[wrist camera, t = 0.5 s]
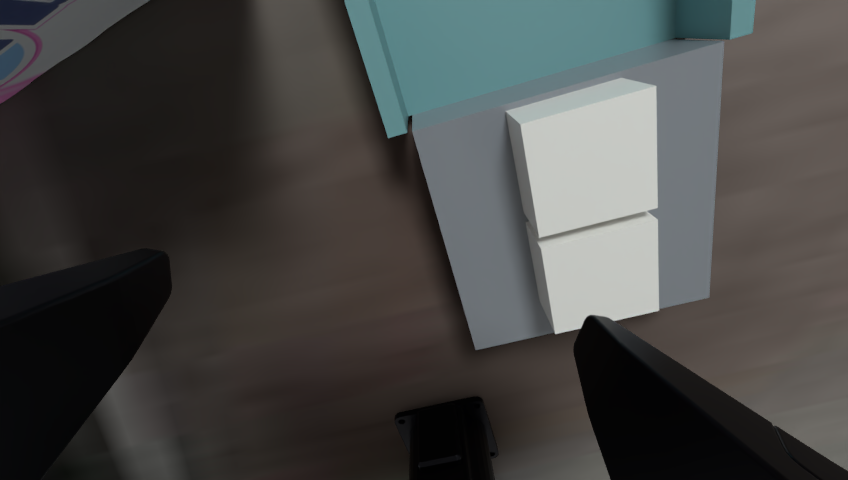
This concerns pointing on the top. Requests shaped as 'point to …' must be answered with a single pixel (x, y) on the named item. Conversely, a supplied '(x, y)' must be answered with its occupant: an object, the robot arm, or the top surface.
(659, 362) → the robot arm
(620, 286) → the tile
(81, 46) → the gum box
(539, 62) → the tray
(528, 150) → the tile
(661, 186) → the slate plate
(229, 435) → the top surface
